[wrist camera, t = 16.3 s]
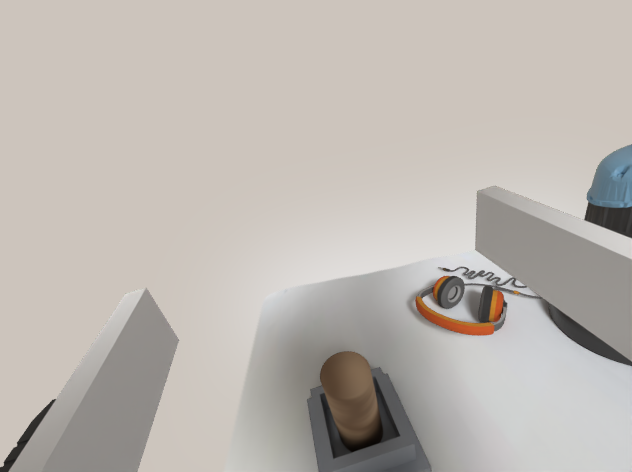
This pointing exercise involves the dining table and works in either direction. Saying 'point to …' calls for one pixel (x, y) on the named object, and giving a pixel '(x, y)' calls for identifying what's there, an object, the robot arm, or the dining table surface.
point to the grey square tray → (375, 461)
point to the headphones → (451, 293)
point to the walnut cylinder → (352, 400)
